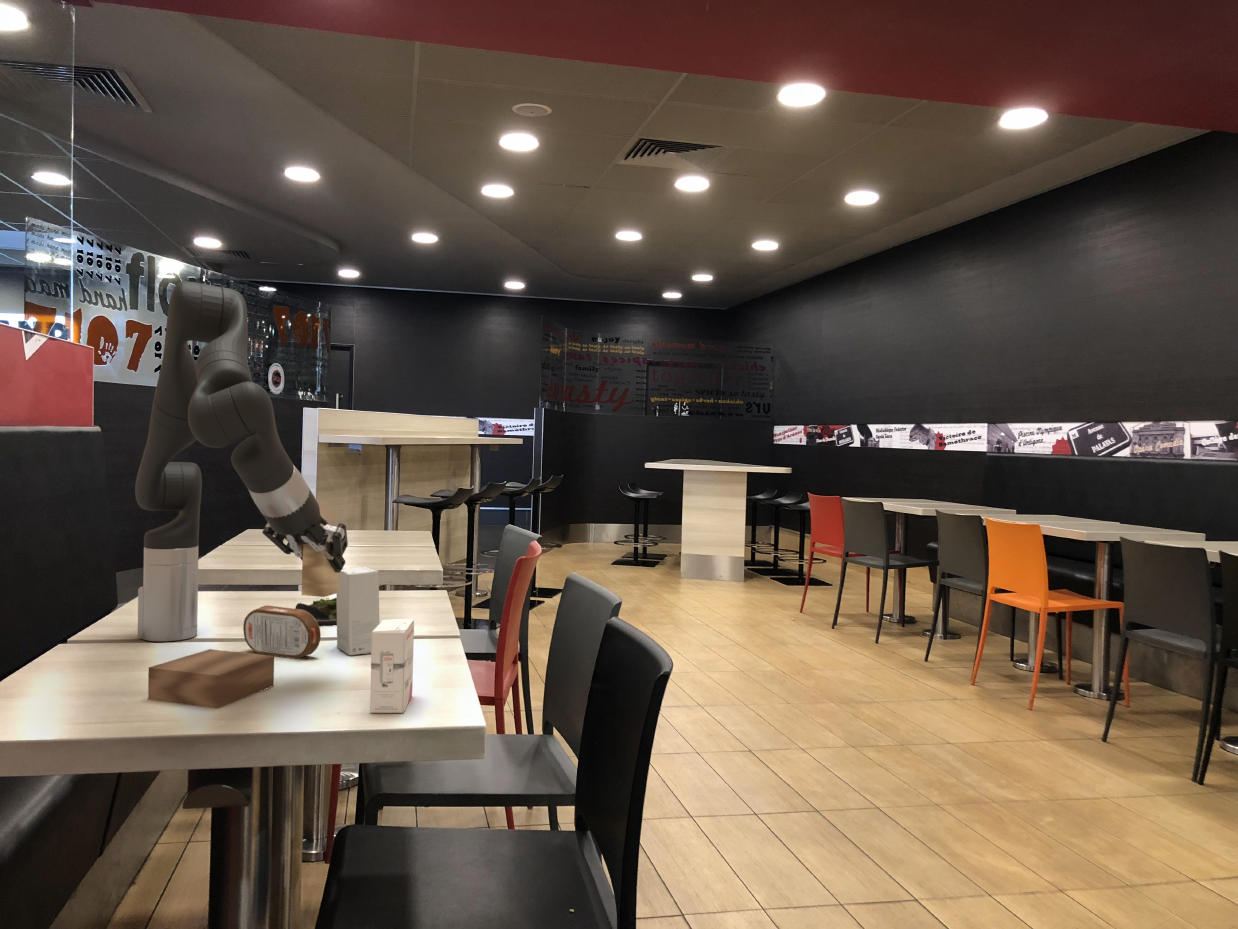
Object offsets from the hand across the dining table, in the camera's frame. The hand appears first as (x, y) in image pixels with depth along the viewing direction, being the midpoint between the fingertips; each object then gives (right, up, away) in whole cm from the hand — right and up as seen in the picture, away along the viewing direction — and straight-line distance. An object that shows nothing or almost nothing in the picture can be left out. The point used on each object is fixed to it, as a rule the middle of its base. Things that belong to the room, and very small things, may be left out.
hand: (327, 566), depth 138 cm
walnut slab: (-13, -18, -11) cm, 25 cm away
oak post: (-1, -4, -2) cm, 5 cm away
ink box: (+14, -18, -14) cm, 27 cm away
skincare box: (-1, -18, +18) cm, 25 cm away
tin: (-13, -17, +13) cm, 25 cm away
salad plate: (-15, -17, +44) cm, 50 cm away
